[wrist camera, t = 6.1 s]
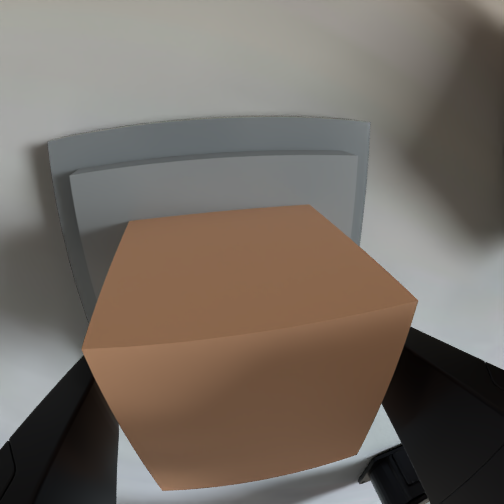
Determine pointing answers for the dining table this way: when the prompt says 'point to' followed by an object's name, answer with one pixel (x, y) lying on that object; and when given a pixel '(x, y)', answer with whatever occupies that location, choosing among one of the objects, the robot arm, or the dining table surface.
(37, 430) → the robot arm
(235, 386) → the block
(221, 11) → the dining table surface
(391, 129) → the dining table surface
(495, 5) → the dining table surface
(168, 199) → the base
